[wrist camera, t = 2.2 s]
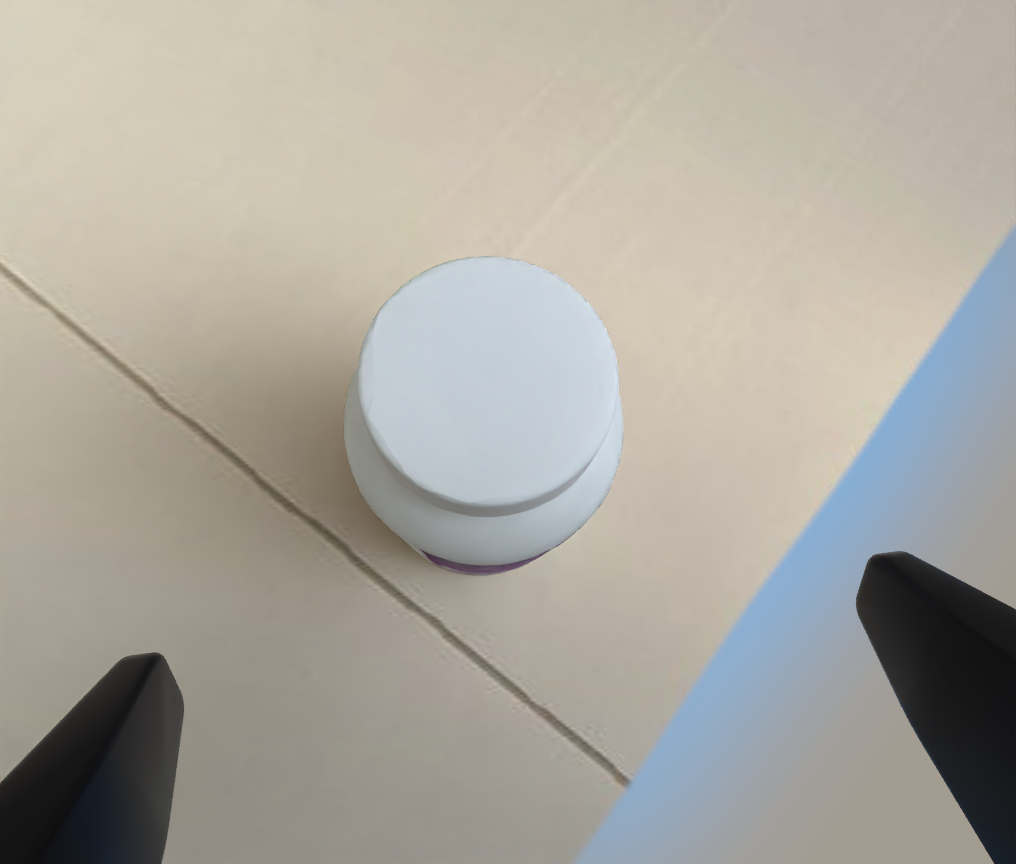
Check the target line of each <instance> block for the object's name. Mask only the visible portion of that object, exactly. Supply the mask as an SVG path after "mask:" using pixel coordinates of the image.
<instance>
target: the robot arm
mask: <svg viewBox="0 0 1016 864" xmlns="http://www.w3.org/2000/svg"><path fill="white" fill-rule="evenodd" d="M856 608H857V613H858V616H859V618H860V620H861V623H862V624H863V627H864V629H865V631H866V633H867V635H868V637H869V639H870V641H871V644H872V646H873V648H874V650H875V652H876V654H877V656H878V658H879V660H880V663H881V665H882V667H883V669H884V671H885V673H886V675H887V677H888V679H889V681H890V684H891V686H892V688H893V690H894V692H895V694H896V696H897V698H898V700H899V702H900V704H901V707H902V708H903V710H904V712H905V714H906V716H907V718H908V720H909V722H910V724H911V726H912V727H913V729H914V731H915V733H916V734H917V736H918V738H919V740H920V741H921V743H922V745H923V746H924V748H925V750H926V751H927V753H928V755H929V756H930V758H931V760H932V761H933V763H934V765H935V766H936V768H937V769H938V771H939V773H940V775H941V776H942V778H943V779H944V781H945V782H946V784H947V786H948V788H949V789H950V791H951V793H952V794H953V796H954V798H955V799H956V801H957V802H958V804H959V806H960V808H961V809H962V811H963V813H964V814H965V816H966V818H967V819H968V821H969V823H970V824H971V826H972V828H973V829H974V831H975V833H976V834H977V836H978V837H979V839H980V841H981V842H982V844H983V846H984V847H985V849H986V851H987V852H988V854H989V856H990V857H991V859H992V861H993V862H994V864H1016V609H1014V608H1012V607H1010V606H1008V605H1006V604H1004V603H1003V602H1001V601H999V600H997V599H995V598H993V597H991V596H989V595H987V594H985V593H983V592H982V591H980V590H978V589H976V588H974V587H972V586H970V585H968V584H966V583H964V582H962V581H961V580H959V579H957V578H955V577H953V576H951V575H949V574H947V573H945V572H944V571H942V570H940V569H938V568H936V567H934V566H932V565H930V564H928V563H926V562H925V561H922V560H921V559H919V558H917V557H915V556H913V555H911V554H909V553H907V552H902V551H896V552H889V553H881V554H875V555H873V556H872V557H871V558H870V559H869V560H868V562H867V565H866V568H865V571H864V575H863V578H862V581H861V584H860V587H859V590H858V594H857V597H856ZM183 716H184V702H183V697H182V694H181V691H180V689H179V687H178V685H177V683H176V680H175V678H174V676H173V674H172V672H171V670H170V667H169V665H168V663H167V661H166V659H165V658H164V656H163V655H161V654H160V653H156V652H153V653H146V654H138V655H131V656H127V657H124V658H123V659H121V660H120V661H119V662H117V663H116V664H115V665H114V666H113V667H112V668H111V669H110V670H109V671H108V673H107V674H106V675H105V676H104V677H103V678H102V679H101V680H100V681H99V682H98V683H97V684H96V685H95V686H94V687H93V688H92V689H91V690H90V691H89V692H88V693H87V694H86V695H85V696H84V697H83V698H82V699H81V700H80V701H79V702H78V703H77V704H76V705H75V706H74V707H73V709H72V710H71V711H70V712H69V713H68V714H67V715H66V716H65V717H64V718H63V719H62V720H61V721H60V722H59V723H58V724H57V725H56V726H55V727H54V728H53V729H52V730H51V731H50V732H49V733H48V734H47V735H46V736H45V737H44V738H43V739H42V740H41V741H40V742H39V743H38V744H37V746H36V747H35V748H34V749H33V750H32V751H31V752H30V753H29V754H28V755H27V756H26V757H25V758H24V759H23V760H22V761H21V762H20V763H19V764H18V765H17V766H16V767H15V768H14V769H13V770H12V771H11V772H10V773H9V774H8V775H7V776H6V777H5V778H4V779H3V780H2V781H1V783H0V864H161V863H162V859H163V854H164V850H165V845H166V840H167V833H168V827H169V821H170V813H171V806H172V798H173V791H174V783H175V776H176V768H177V761H178V753H179V746H180V738H181V731H182V723H183Z"/></svg>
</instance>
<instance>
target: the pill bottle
mask: <svg viewBox="0 0 1016 864" xmlns="http://www.w3.org/2000/svg"><path fill="white" fill-rule="evenodd" d="M344 442H345V448H346V453H347V458H348V461H349V465H350V468H351V471H352V474H353V476H354V479H355V481H356V483H357V486H358V488H359V490H360V492H361V494H362V496H363V498H364V499H365V501H366V502H367V504H368V506H369V507H370V508H371V510H372V511H373V512H374V513H375V515H376V516H377V517H378V518H379V519H380V520H382V521H383V522H384V523H385V524H386V525H387V526H388V527H389V528H390V529H391V530H392V531H393V532H394V533H396V534H397V535H398V536H399V537H401V538H402V539H403V540H404V541H405V542H406V543H407V544H409V545H410V546H411V547H412V548H413V549H414V550H415V551H416V552H417V553H418V554H420V555H421V556H422V557H424V558H425V559H426V560H428V561H430V562H431V563H433V564H435V565H437V566H439V567H441V568H444V569H446V570H449V571H453V572H456V573H460V574H466V575H476V576H485V575H493V574H499V573H504V572H507V571H510V570H513V569H516V568H519V567H522V566H524V565H526V564H528V563H529V562H531V561H533V560H535V559H537V558H539V557H540V556H542V555H543V554H545V553H546V552H548V551H549V550H551V549H553V548H555V547H557V546H559V545H560V544H561V543H563V542H564V541H565V540H567V539H568V538H569V537H571V536H572V535H573V534H574V533H575V532H576V531H577V530H578V529H580V528H581V527H582V526H583V525H584V524H585V523H586V522H587V521H588V519H589V518H590V517H591V516H592V515H593V514H594V512H595V511H596V510H597V509H598V508H599V507H600V505H601V504H602V502H603V500H604V499H605V497H606V495H607V493H608V491H609V489H610V486H611V484H612V481H613V478H614V476H615V473H616V470H617V467H618V464H619V461H620V456H621V451H622V443H623V413H622V406H621V400H620V396H619V392H618V367H617V360H616V355H615V351H614V348H613V345H612V343H611V340H610V337H609V334H608V332H607V330H606V328H605V326H604V324H603V323H602V321H601V319H600V318H599V316H598V315H597V313H596V312H595V310H594V309H593V308H592V307H591V305H590V304H589V303H588V302H587V301H586V300H585V299H584V297H582V296H581V295H580V294H579V293H578V292H577V291H576V290H575V289H574V288H573V287H572V286H571V285H569V284H568V283H566V282H565V281H564V280H563V279H561V278H560V277H558V276H556V275H554V274H553V273H551V272H549V271H547V270H545V269H543V268H540V267H538V266H536V265H533V264H530V263H527V262H523V261H520V260H517V259H511V258H504V257H491V256H484V257H469V258H463V259H458V260H453V261H449V262H446V263H443V264H440V265H437V266H435V267H433V268H430V269H428V270H426V271H424V272H422V273H421V274H419V275H418V276H416V277H414V278H412V279H411V280H410V281H409V282H407V283H406V284H404V285H403V286H401V287H400V288H399V289H398V290H397V291H396V292H395V293H394V294H393V295H392V296H391V297H390V298H389V299H388V300H387V301H386V302H385V303H384V304H383V306H382V307H381V308H380V310H379V312H378V313H377V315H376V316H375V318H374V319H373V321H372V323H371V325H370V327H369V329H368V331H367V334H366V336H365V338H364V341H363V344H362V348H361V352H360V356H359V364H358V366H357V368H356V370H355V373H354V375H353V377H352V380H351V383H350V386H349V389H348V393H347V398H346V403H345V410H344Z"/></svg>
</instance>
